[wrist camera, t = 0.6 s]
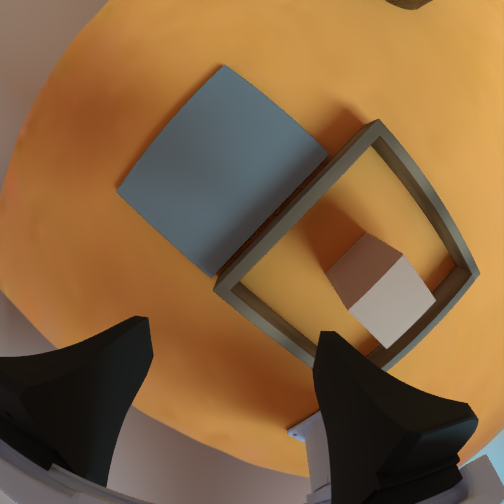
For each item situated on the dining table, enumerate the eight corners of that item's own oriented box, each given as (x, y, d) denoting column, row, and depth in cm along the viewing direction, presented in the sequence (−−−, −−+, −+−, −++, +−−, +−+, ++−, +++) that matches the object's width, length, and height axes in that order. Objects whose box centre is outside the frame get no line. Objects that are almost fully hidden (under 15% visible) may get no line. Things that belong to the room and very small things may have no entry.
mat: (327, 154, 18) (329, 154, 17) (212, 275, 20) (210, 278, 20) (225, 67, 16) (224, 64, 15) (119, 191, 19) (116, 191, 18)
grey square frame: (464, 264, 19) (480, 273, 17) (346, 379, 23) (353, 397, 20) (364, 124, 17) (378, 118, 14) (218, 277, 20) (212, 290, 18)
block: (397, 269, 20) (436, 300, 14) (358, 307, 21) (386, 349, 15) (365, 231, 19) (403, 254, 13) (324, 273, 20) (347, 310, 14)
